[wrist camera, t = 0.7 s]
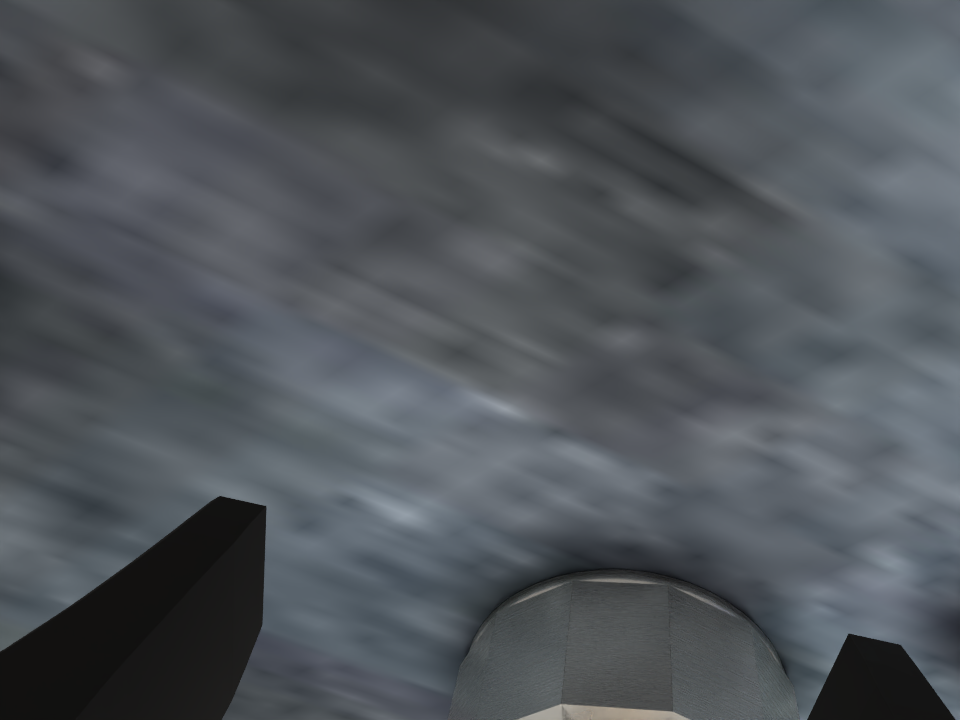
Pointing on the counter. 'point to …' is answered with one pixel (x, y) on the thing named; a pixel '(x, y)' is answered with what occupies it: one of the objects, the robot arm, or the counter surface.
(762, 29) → the counter surface
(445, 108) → the counter surface
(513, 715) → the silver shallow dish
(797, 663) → the counter surface
